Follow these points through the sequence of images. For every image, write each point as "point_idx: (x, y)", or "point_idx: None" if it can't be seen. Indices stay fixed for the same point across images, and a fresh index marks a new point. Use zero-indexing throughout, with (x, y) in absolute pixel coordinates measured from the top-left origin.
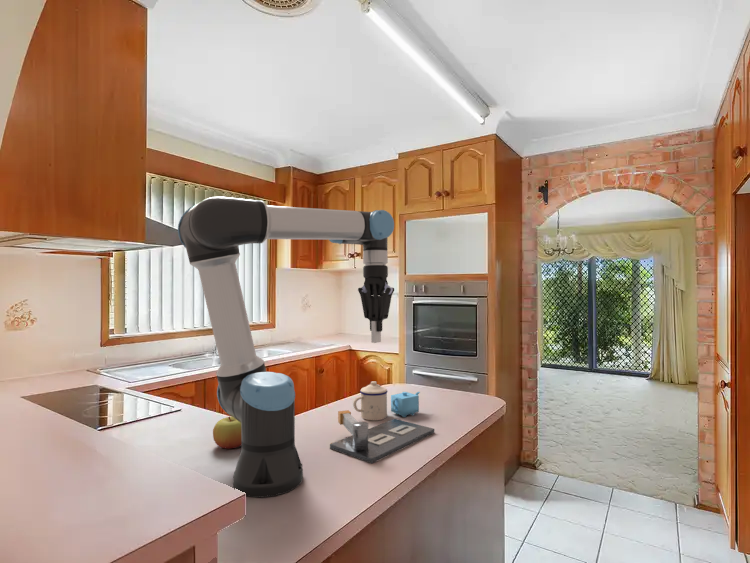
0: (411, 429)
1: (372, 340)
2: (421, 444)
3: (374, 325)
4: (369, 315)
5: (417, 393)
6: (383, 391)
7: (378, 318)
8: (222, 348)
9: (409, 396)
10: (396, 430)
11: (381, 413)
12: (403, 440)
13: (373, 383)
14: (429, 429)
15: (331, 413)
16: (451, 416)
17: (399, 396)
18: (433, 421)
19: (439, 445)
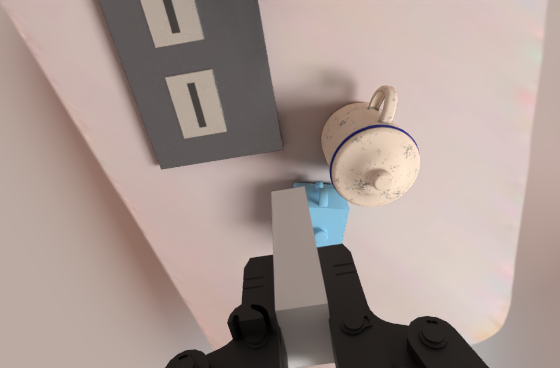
0: (182, 121)
1: (296, 195)
2: (115, 89)
3: (280, 276)
4: (374, 357)
5: None
6: (333, 176)
7: (233, 351)
8: None
9: None
10: (198, 87)
11: (323, 140)
12: (131, 53)
13: (376, 174)
14: (163, 157)
15: (475, 62)
16: (228, 261)
17: (321, 216)
18: (227, 214)
19: (88, 116)
